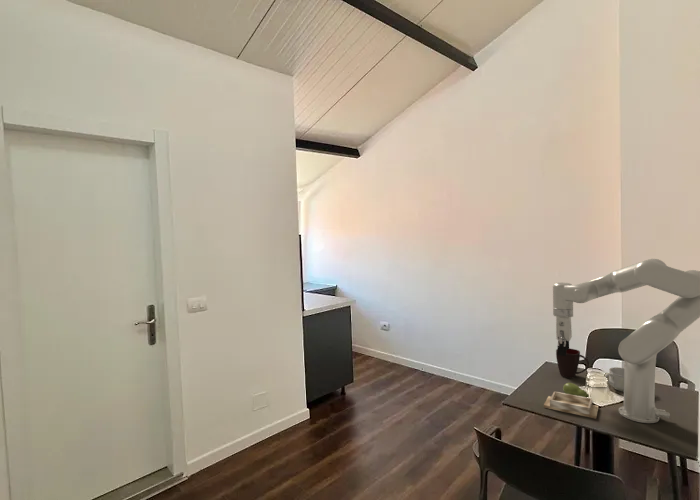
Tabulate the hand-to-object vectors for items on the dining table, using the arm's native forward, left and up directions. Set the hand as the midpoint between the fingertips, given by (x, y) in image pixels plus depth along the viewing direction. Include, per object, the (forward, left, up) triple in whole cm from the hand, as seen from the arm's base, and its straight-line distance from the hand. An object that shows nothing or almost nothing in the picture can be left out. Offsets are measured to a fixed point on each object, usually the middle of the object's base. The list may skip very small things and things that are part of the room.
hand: (563, 352), depth 175 cm
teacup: (-19, -20, -19) cm, 34 cm away
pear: (-5, -1, -19) cm, 20 cm away
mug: (0, -26, -19) cm, 32 cm away
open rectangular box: (-4, +11, -19) cm, 22 cm away
